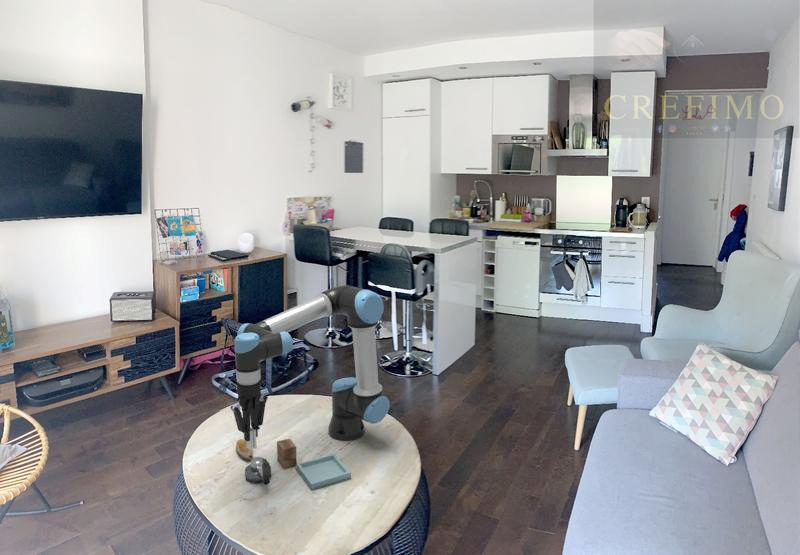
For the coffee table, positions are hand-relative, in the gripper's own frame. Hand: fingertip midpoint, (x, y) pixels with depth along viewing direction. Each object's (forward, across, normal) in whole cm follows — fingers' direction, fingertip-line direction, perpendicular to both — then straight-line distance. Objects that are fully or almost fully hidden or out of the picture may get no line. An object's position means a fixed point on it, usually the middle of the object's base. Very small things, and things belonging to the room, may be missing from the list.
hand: (251, 447), depth 186 cm
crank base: (+18, -9, -9) cm, 23 cm away
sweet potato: (+19, -15, -26) cm, 36 cm away
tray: (+18, -25, +7) cm, 32 cm away
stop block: (+19, -21, -9) cm, 30 cm away
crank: (+15, -7, -5) cm, 18 cm away
